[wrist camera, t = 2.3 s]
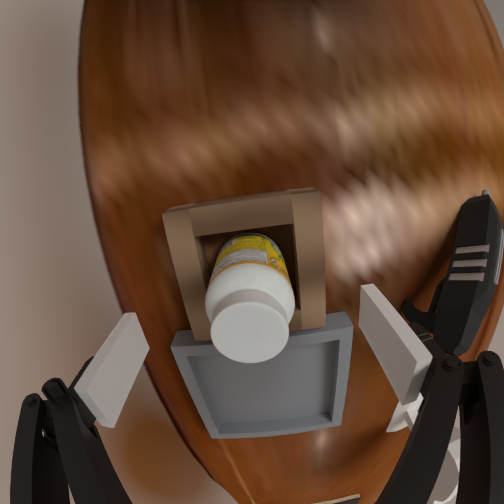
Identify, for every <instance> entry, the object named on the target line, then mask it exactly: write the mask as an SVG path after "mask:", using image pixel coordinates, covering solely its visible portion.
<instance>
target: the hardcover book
mask: <svg viewBox="0 0 504 504" xmlns="http://www.w3.org/2000/svg"><path fill="white" fill-rule="evenodd" d="M361 498H362V497H360V495H359V494H356V495H352V496H348V497H344V498H339V499H335V500H330V501H325V502H319V503H314V504H357V503H358V502H359V500H360V499H361Z"/></svg>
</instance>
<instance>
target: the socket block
mask: <svg viewBox="0 0 504 504" xmlns="http://www.w3.org/2000/svg"><path fill="white" fill-rule="evenodd" d="M162 218H163V222H164V227H165V231H166V236H167V240H168V244H169V249H170V253H171V257H172V261H173V265H174V269H175V273H176V276H177V280H178V284H179V288H180V291H181V295H182V298H183V302H184V305H185V309H186V312H187V316H188V319H189V322H190V326H191V329H192V332H193V335H194V338H195V341H208V340H212V339H211V333H210V329H211V322H210V320H209V318H208V316H207V312H206V308H205V299H206V293H207V289H208V286H209V283H210V279H211V277H210V272H209V268H208V263H207V258H206V253H205V248H204V243H203V239H202V236H203V235H210V234H217V233H224V232H231V231H239V230H246V229H254V228H261V227H269V226H277V225H284V224H290V226H291V236H292V246H293V257H294V269H295V281H296V294H297V295H294V299H295V308H294V313H293V316H292V319H291V321H290V323H289V324H288V327H289V332H294V331H301V330H307V329H314V328H320V327H326V294H325V260H324V240H323V224H322V210H321V198H320V191H318V190H316V189H315V188H313V187H310V188H300V189H291V190H282V191H274V192H266V193H258V194H251V195H244V196H237V197H230V198H223V199H217V200H210V201H204V202H198V203H192V204H187V205H181V206H175V207H171V208H170V209H168V210H167V211H165V212H164V213H162Z"/></svg>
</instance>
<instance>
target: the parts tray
mask: <svg viewBox="0 0 504 504" xmlns="http://www.w3.org/2000/svg"><path fill="white" fill-rule="evenodd" d="M352 338H353V324H352V322H351V320H350V319H349V317H348V315H347V313H346V311H342V312H337V313H331V314H326V327H320V328H314V329H307V330H301V331H294V332H289V337H288V341H287V343H286V345H285V347H284V348H283V349H282V351H281V352H280V353H279V354H277V355H276V356H275V357H273V358H271V359H269V360H266V361H263V362H259V363H242V362H237V361H234V360H231V359H229V358H227V357H226V356H224V355H223V354H221V353H220V352H219V351H218V350H217V348H216V347H215V346H214V344H213V342H212V340H208V341H195V338H194V335H193V332H192V330H180V331H176V333H175V336H174V339H173V341H172V344H171V346H170V347H171V350H172V353H173V355H174V358H175V360H176V362H177V365H178V367H179V370H180V372H181V374H182V377H183V379H184V381H185V384H186V386H187V388H188V391H189V393H190V395H191V397H192V399H193V401H194V404H195V406H196V408H197V410H198V412H199V414H200V416H201V418H202V420H203V422H204V424H205V426H206V428H207V430H208V432H209V434H210V436H211V438H216V439H218V438H251V437H265V436H276V435H285V434H293V433H301V432H307V431H313V430H319V429H325V428H330V427H335V426H340V425H341V420H342V415H343V409H344V403H345V397H346V390H347V383H348V376H349V367H350V359H351V349H352Z"/></svg>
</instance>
